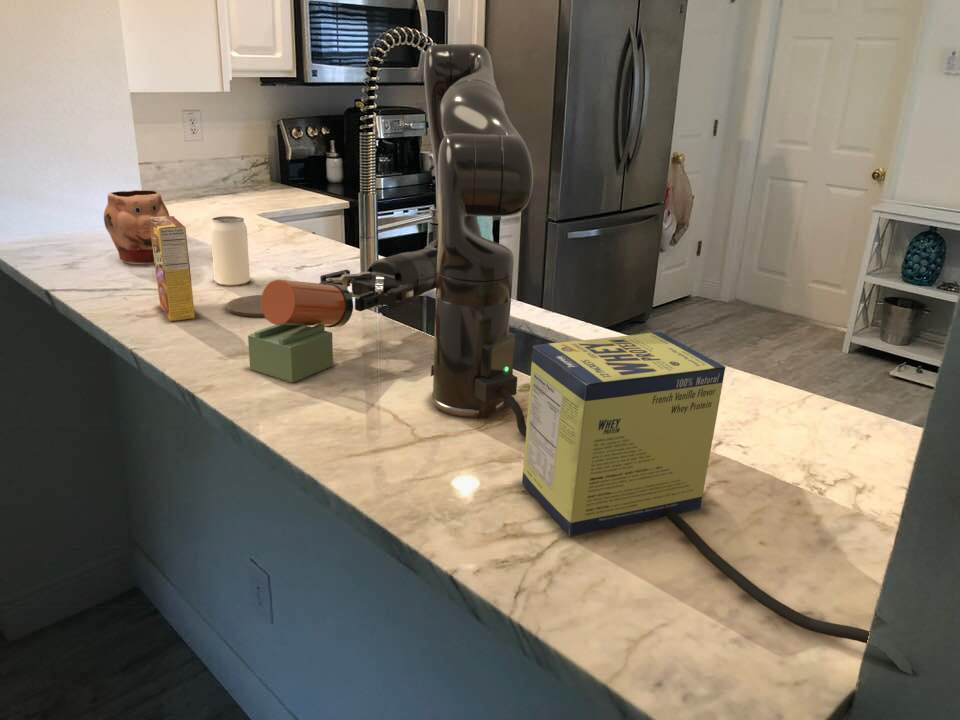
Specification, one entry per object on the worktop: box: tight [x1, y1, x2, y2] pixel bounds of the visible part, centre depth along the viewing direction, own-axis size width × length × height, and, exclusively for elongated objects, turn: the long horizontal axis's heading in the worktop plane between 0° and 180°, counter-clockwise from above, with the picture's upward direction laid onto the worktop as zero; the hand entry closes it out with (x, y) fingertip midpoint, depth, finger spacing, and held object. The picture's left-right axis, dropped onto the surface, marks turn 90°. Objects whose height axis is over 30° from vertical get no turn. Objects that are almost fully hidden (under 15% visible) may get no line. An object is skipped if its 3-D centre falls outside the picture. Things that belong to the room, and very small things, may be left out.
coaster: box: [226, 294, 266, 318], centre depth 131 cm, size 11×11×1 cm
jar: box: [261, 279, 354, 329], centre depth 106 cm, size 12×6×6 cm, turn 149°
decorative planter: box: [103, 189, 170, 265], centre depth 155 cm, size 20×12×14 cm, turn 43°
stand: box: [247, 324, 334, 383], centre depth 105 cm, size 8×8×6 cm
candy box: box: [149, 215, 196, 322], centre depth 123 cm, size 9×4×15 cm, turn 31°
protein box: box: [521, 331, 726, 537], centre depth 75 cm, size 10×16×16 cm
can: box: [210, 215, 251, 287], centre depth 143 cm, size 6×6×12 cm
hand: (334, 298), depth 110 cm, fingers open, 8 cm apart
